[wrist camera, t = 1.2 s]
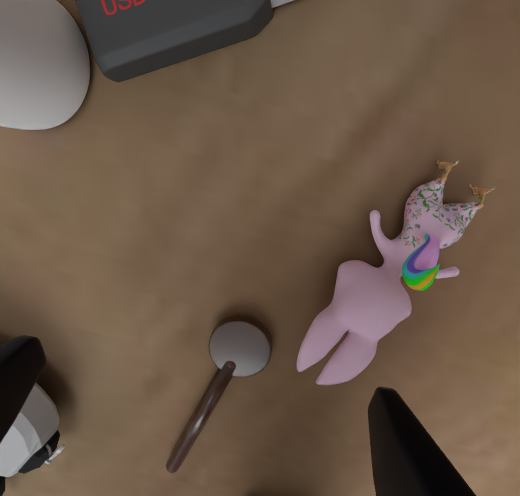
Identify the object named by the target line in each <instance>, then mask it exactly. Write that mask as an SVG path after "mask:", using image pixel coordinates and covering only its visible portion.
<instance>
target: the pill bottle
mask: <svg viewBox="0 0 520 496" xmlns="http://www.w3.org/2000/svg"><path fill="white" fill-rule="evenodd" d="M89 80H90V60H89V54H88V50H87V46H86V43H85V40H84V37H83V35H82V33H81V31H80V29H79V27H78V25H77V23H76V22H75V20H74V19H73V17H72V16H71V15H70V14H69V12H68V11H67V10H66V9H65V8H64V7H63V6H62V5H61V4H60V3H59V2H58V1H57V0H0V126H3V127H10V128H17V129H25V130H42V129H49V128H53V127H55V126H58V125H60V124H62V123H64V122H65V121H67V120H68V119H69V118H71V117H72V116H73V115H74V114H75V113H76V111H77V110H78V109H79V107H80V106H81V104H82V102H83V100H84V98H85V96H86V93H87V90H88V86H89Z"/></svg>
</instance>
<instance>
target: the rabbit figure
mask: <svg viewBox="0 0 520 496" xmlns="http://www.w3.org/2000/svg"><path fill="white" fill-rule="evenodd" d="M438 162H439V160H438V161H437V165H439V166H438V168H439V169H441V170H443V169H445V172H444V174H443V175H442V176H441V177H440V178H438V179H436V180H433V181H431V182H428V183H426V184H423V185H421V186H419V187H417V188H416V189H415V190H414V191H413V192H412V193H411V194H410V196H409V198H408V200H407V202H406V206H405V211H404V225H403V230H402V232H401V234H400V235H399V236H398V237H396V238H395V239H393V240H389V239H388V238H386V237H385V235H384V234H383V232H382V230H381V227H380V213H379V212H378V211H376V210H373V211H371V213H370V223H371V230H372V234H373V237H374V240H375V242H376V245H377V247H378V249H379V251H380V252H381V254H382V256H383V258H384V264H383V265H382V266H381V267H379V268H376V267H373V266H371V265H369V264H367V263H366V262H363V261H360V260H352V261H347V262H344V263H342V264H341V265H340V266H339V268H338V274H337V280H336V285H335V292H334V297H333V300H332V302H331V304H330V305H329V306H328V307H327V308H326V309H324V310H323V311H322V312H320V313H319V314H318V315H317V317H316V318H315V319H314V321H313V322H312V324H311V326H310V328H309V330H308V332H307V334H306V336H305V338H304V340H303V343H302V345H301V348H300V351H299V355H298V359H297V370H298V371H299V372H302V371H304V370H305V369H307V368H308V367H310V366H312V365H313V364H315V363H317V362H318V361H320V360H321V359H322V358H323V357H325V355H326V354H327V353H328V352H329V351H330V350H331V349H332V348H333V347H334V346H335V345H336V344H337V342H338V341H339V340H340V339H341V338H342V336H343V335H344V333H345V332H346V331H347V330H348V331H349V332H348V335H347V336H346V337H345V339H344V340H343V341H342V343H341V344H340V345H339V347H338V348H337V349H336V351H335V352H334V354H333V355H332V357H331V358H330V359H329V361H328V362H327V364H326V365H325V367H324V368H323V370H322V372H321V374H320V375H319V377H318V378H317V380H316V383H317V384H319V385H332V384H339V383H343V382H346V381H349V380H351V379H352V378H354V377H355V376H357V375H358V374H359V373H360V372H361V371H363V370H364V369H365V368H366V367H367V366H368V365H369V363H370V362H371V361H372V359H373V358H374V356H375V353H376V349H377V343H378V340H379V339H380V338H382V337H383V336H385V335H386V334H388V333H389V332H390V331H391V330H392V329H393V328H394V327H395V326H396V325H397V324H398V323H399V322H401V321H402V320H404V319H406V318H407V317H408V316H409V315H410V314H411V309H412V307H411V301H410V297H409V295H408V293H407V292H406V290H405V289H404V287H403V286H402V284H401V282H400V278H401V276H403V279H404V281H405V283H406V284H407V285H408V286H409V287H410V288H412V289H414V290H426V289H427V288H428V287H429V286H430V285H431V284H432V283H433V281H434V280H435V278H446V277H454V276H457V275H458V274H459V269H458V268H457V267H448V268H445V269H439V265H440V264H439V265H437V266H436V264H437V261H438V257H439V251H440V249H442V248H445V247H448V246H450V245H452V244H453V243H455V242H456V241H458V240H459V239H460V237H461V236H462V235H463V233H464V231H465V229H466V227H467V225H468V224H469V222H470V221H471V219H472V218H473V216H474V215H475V213H476V212H477V211H478V210H479V209H481V208H482V207H483V206H484V198H485V196H486V194H487V193H488V192H489V191H493V190H494V189H495V188H496V187H495V188H492V189H490V190H489V188H487V187H486V188H481V187H472V186H471V184H470V188H471V189H473V194H479V198H478V200H476V201H475V202H471V203H449V204H443V193H444V186H445V181H446V180H447V175H448V173H449V172H450V171H451V168H452V167H453V166H454V165H456V164H457V163H458V162H459V161H458V162H455V163H454V162H440V163H438Z"/></svg>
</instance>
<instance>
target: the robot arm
mask: <svg viewBox="0 0 520 496" xmlns="http://www.w3.org/2000/svg"><path fill="white" fill-rule="evenodd" d="M45 362H46V357H45V354H44V351H43V348H42V345H41V343H40V340H39V339H38V338H37V337H32V336H19V337H17V338H15V339H13V340H11V341H9V342H7V343H5V344H3V345H2V346H0V443H1V442H2V440H3V439H4V437H5V436H6V434H7V433H8V431H9V429H10V428H11V426H12V425H13V423H14V421H15V420H16V418H17V416H18V414H19V413H20V411H21V409H22V407H23V405H24V403H25V401H26V400H27V398H28V396H29V394H30V392H31V390H32V388H33V387H34V385H35V383H36V381H37V379H38V377H39V375H40V374H41V372H42V370H43V368H44V366H45ZM368 421H369V433H370V445H371V457H372V469H373V478H374V485H375V491H376V496H476V495H475V494H474V492H473V491H472V490H471V488H470V487H469V486H468V484H467V483H466V482H465V480H464V479H463V478H462V477H461V475H460V474H459V473H458V471H457V470H456V469H455V467H454V466H453V465H452V463H451V462H450V461H449V460H448V458H447V457H446V456H445V454H444V453H443V452H442V450H441V449H440V448H439V446H438V445H437V444H436V443H435V441H434V440H433V439H432V437H431V436H430V435H429V433H428V432H427V431H426V429H425V428H424V427H423V426H422V424H421V423H420V422H419V420H418V419H417V418H416V416H415V415H414V414H413V412H412V411H411V410H410V409H409V407H408V406H407V405H406V403H405V402H404V401H403V399H402V398H401V397H400V395H399V394H398V393H397V392H396V391H395V390H394V389H392V388H386V387H378V388H377V389H376V390H375V393H374V395H373V397H372V399H371V401H370V404H369V407H368Z"/></svg>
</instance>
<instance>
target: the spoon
mask: <svg viewBox="0 0 520 496" xmlns="http://www.w3.org/2000/svg"><path fill="white" fill-rule="evenodd" d="M271 350H272V341H271V337H270V334H269V332H268V331H267V329H266V328H265V327H264V326H263V325H262V324H261V323H260V322H259V321H257V320H255V319H253V318H251V317H248V316H242V315H237V316H231V317H228V318H226V319H224V320H222V321H221V322H220V323H219V324H218V325H217V326H216V327H215V329H214V331H213V333H212V335H211V337H210V340H209V352H210V355H211V358H212V360H213V361H214V363H215V364H216V365H217V366H218V367H219V370H218V372H217V373H216V375H215V377H214V379H213V381H212V382H211V384H210V386H209V388H208V389H207V391H206V393H205V395H204V397H203V398H202V400H201V402H200V404H199V406H198V407H197V409H196V411H195V413H194V414H193V416H192V418H191V420H190V422H189V423H188V425H187V427H186V429H185V431H184V432H183V434H182V436H181V438H180V440H179V441H178V443H177V445H176V447H175V448H174V450H173V452H172V454H171V456H170V457H169V459H168V461H167V463H166V468H167V471H168V472H170V473H174V472H176V471H177V470H178V469H179V467H180V466H181V464H182V462H183V461H184V459H185V457H186V455H187V454H188V452H189V450H190V448H191V447H192V445H193V443H194V442H195V440H196V438H197V436H198V435H199V433H200V431H201V429H202V428H203V426H204V424H205V423H206V421H207V419H208V417H209V416H210V414H211V412H212V411H213V409H214V407H215V405H216V404H217V402H218V400H219V398H220V397H221V395H222V393H223V392H224V390H225V388H226V386H227V385H228V383H229V381H230V379H231V378H232V376H239V377H246V376H251V375H254V374H257V373H258V372H260V371H261V370H262V369H263V368H264V367H265V366H266V365H267V364H268V362H269V359H270V356H271Z"/></svg>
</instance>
